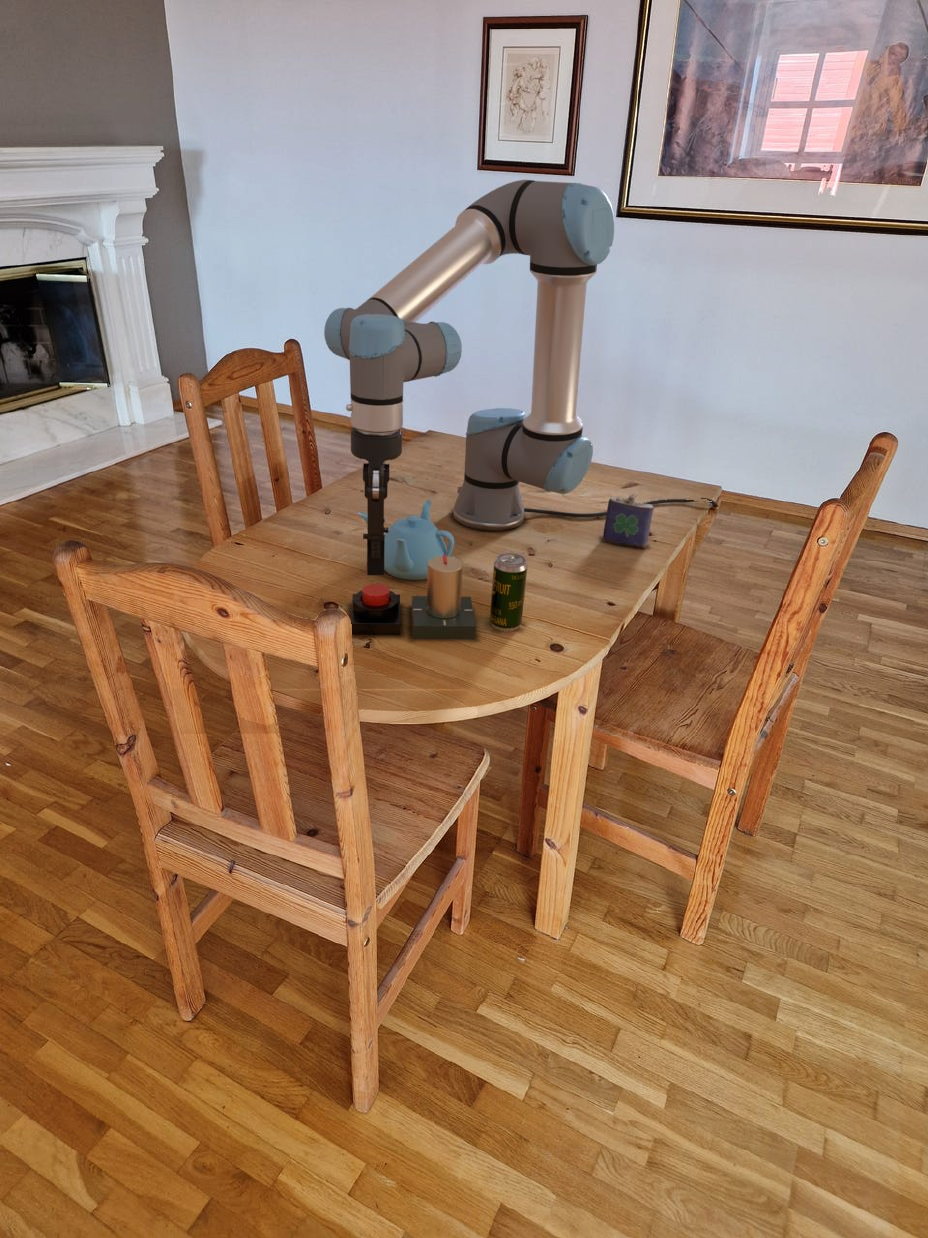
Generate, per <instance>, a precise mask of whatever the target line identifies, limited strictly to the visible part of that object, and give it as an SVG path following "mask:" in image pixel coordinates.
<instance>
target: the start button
mask: <svg viewBox="0 0 928 1238" xmlns="http://www.w3.org/2000/svg"><path fill="white" fill-rule="evenodd" d="M361 591H362V601H363V603H364V604H366V605H370V606H382V605H386V604H388V603H389V596H390V591H391V589H390V588H389V586H387V585H386V584H382V583H369V584H366V585H365V586H363V587H362V589H361Z"/></svg>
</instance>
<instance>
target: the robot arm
mask: <svg viewBox="0 0 928 1238" xmlns="http://www.w3.org/2000/svg"><path fill="white" fill-rule="evenodd" d="M611 203H612V202H611V201H610V200H609V198H608V196H607V194H606V193H605V192H604V191H603V189H601V188H599V187H598V186H593V185H588V184H583V183H580V182H565V181H564V182H562V181H543V180H532V179H519V180H515V181H511V182H507V183H506V184H502V185H501V186H499V187H497V188H495V189H493V190H491V191H489V192H487V193H486V194H484V195H483V196H481V197H479V198H478V199H477V200H475V201H474V202H472V203H471V204H470V205H468V207H466V208H465V209H464V210H462V212H460V213H459V214H458V216H457V217H456V220H455V224H454V226H453V227H452V228H451V229H450V230H448V231H447V232H446V233H445V234H444V235H443V236H442V237H440V238H439V239H438V240H436V241H435V242H434V243H433V244H432V245H430V246H429V247H428V248H427V249H426V250H425V251H423V252H421V254H420V255H418V256H417V257H416V258H415V259H414V260H413V261H412V262H410V264H408V265H407V266H406V267H404V268H403V269H402V270H401V271H399V272H398V273H397V274H396V275H395V276H394V277H393V278H392V279H390V280H389V281H388V282H387V283H386V284H385V285H383V286H382V287H381V288H380V289H378V290H377V291H376V292H375V293H373V294H372V296H370V297H369V298H368V299H366V301H364V302H363V303H361V305H359V306H358V307H356V308H353V307H338V308H337V309H334V310H333V311H331V313H330V314H329V315H328V317H327V319H326V321H325V324H324V328H323V329H324V331H323V334H324V341H325V344H326V346H327V347H328V349H329V351H330V352H331V353H332V354H334V355H336V356H337V357H340V358H343V359H346V360H348V361H349V384H350V385H349V386H350V392H349V393H350V404H346V406H345V410H346V411H347V412H351V413H350V425H351V426H352V429H351V430H350V452H351V454H352V455H353V456H354V458H357V459H360V460H365V461H366V462H363V463H362V465H363V466H362V481H363V482H364V498H366V499H367V501H366V503H367V507H366V508H367V514H368V526H366V527H367V529H366V530H367V533H362V539H363V540H366V576H385V570H384V547H385V534H386V533H388V531H389V528H390V526H389V527H385V523H386V520H385V500H386V499H387V498H388V488H389V487H388V484H389V482H390V463H386V461H392V460H395V459H398V458H399V457H400V456H401V455H402V453H403V431H402V430H401V429H402V427H403V425H404V383H409V382H412V381H417V380H422V379H427V378H432V377H440V376H441V375H443V374H446V373H450V372H451V371H453V370H455V368H457V366H458V365H459V363H460V361H461V359H462V352H463V350H462V348H463V346H462V341H461V337H460V335H459V333H458V331H457V330H456V328H454V326H452V325H451V324H449V323H447V322H445V321H444V322H443V321H438V322H436V321H429V322H427V323H420V322H419V321H420V320H421V319H422V318H424V316H425V315H427V314H428V313H429V312H430V311H431V310H432V309H434V307H436V306H437V305H438V304H439V303H440V302H441V301H443V299H445V298H446V297H447V296H448V295H449V294H450V293H451V292H452V291H454V290H455V289H456V288H457V287H458V286H459V285H460V284H461V283H463V282H464V281H465V280H466V279H467V278H469V276H471V275H472V274H473V273H474V272H475V271H476V270H478V268H480V267H481V266H482V265H491V264H493V263H494V262H495V261H497V260H498V259H499V258H500V257H501V256H506V255H512V254H514V255H517V254H518V255H524V256H528V257H529V272H530V273H531V274H532V276H533V277H534V278H535V279H536V281H537V288H536V309H535V328H534V347H533V367H532V368H533V369H532V384H531V385H532V388H531V405H530V413H529V414H528V415H526V412H524V410H521V409H518V408H507V407H498V408H496V407H495V408H486V409H482V410H477V411H475V412H473V413H472V414H471V415H469V417H468V420H467V427H466V432H465V452H464V453H465V455H464V456H465V457H464V459H465V460H464V474H463V475H464V476H463V483H462V485H461V486H457V494H458V495H457V497H456V500H455V503H454V506H453V518H454V519H455V520H456V522H457V523H459V524H461V525H463V526H465V527H467V528H470V529H474V530H480V531H488V532H499V531H508V530H512V529H515V528H518V527H519V526H521V525H522V524H523V523H524V521H525V513H534V514H543V515H544V514H545V515H552V516H561V517H568V518H569V517H571V518H595V517H596V518H599V517H606V515H607V511H601V512H592V513H591V512H589V513H588V512H587V513H580V512H579V513H577V512H565V511H557V510H550V509H549V510H547V509H539V508H531V507H530V508H529V507H524V502H523V499H522V494H521V490H520V483H522V484H525V485H529V486H532V487H535V488H538V489H541V490H544V491H545V492H547V493H549V492H550V493H551V492H552V493H555V494H559V495H565V494H569V493H571V492H573V491H574V490H575V489H576V488H577V487H579V485H580V484H581V482H582V481H583V480H584V478H585V476H587V473H588V471H589V469H590V466H591V463H592V460H593V456H594V455H593V454H594V446H593V444H592V440H590V439H589V438H587V437H586V436H583V429H584V422H583V420H582V419H581V418H580V417H579V416H578V415H577V406H578V393H579V383H580V372H581V371H580V370H581V361H582V360H581V359H582V348H583V347H582V345H583V335H584V334H583V333H584V332H583V331H584V323H585V311H586V310H585V309H586V298H587V287H588V286H587V285H588V282H589V281H590V280H591V279H592V278H593V277H594V276H595V275H596V274H597V272H598V271H597V270H598V265H599V264H602V263H603V262H604V261H605V260H606V259H607V257H608V256H609V254H610V253H611V249H610V248H611V247H612V246H613V243H614V237H615V216H614V210H613V207H612V204H611ZM700 498H701V499H707V500H709V501H712V502H708V503H709V504H712V506H713V507H715V508H719V507H720V506H719V504H718V503H717V502H716V501H715V500H713V499H711V498H707V497H700ZM665 499H667V500H665ZM665 499H664V498H663V499H654V500H648V501H644V502H643V503H644V504H651V505H652V506H653V505H658V504H668V503H694V502H695V503H696V502H697V501H694V500H686V499H687V498H665ZM655 500H657V501H655ZM649 501H650V502H649ZM645 502H646V503H645ZM704 502H705V503H706V501H704Z"/></svg>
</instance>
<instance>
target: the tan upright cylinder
mask: <svg viewBox="0 0 928 1238" xmlns="http://www.w3.org/2000/svg"><path fill="white" fill-rule="evenodd" d="M463 571H464V563H463V562H462V561H461V560H460V559H458V558H456V557H455V558H453V557H448V556H447V555H443V556H440V557H435V558H432V559H430V560H429V561H428V574H427V579H426V596H427V600H426V611H427V613H428V614H429V615H431V616H433V617H436V618H444V619H445V618H452V617H455V616H457V615H458V614H459V613H460V606H461V597H462V587H463Z"/></svg>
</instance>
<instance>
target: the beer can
mask: <svg viewBox="0 0 928 1238" xmlns="http://www.w3.org/2000/svg"><path fill="white" fill-rule="evenodd" d="M527 574H528V564H527V558H526V557H525V556H524V555H521V554H519V553H517V552H516V553H514V552H503V553H500V554H498V555H497V556H496V557H495V561H494V563H493V571H492V584H491V593H490V595H491V596H490V609H489V623H490V625H491V627H492V628H494V629H496V630H497V631H500V632H514V631H516V630H518V629H519V628H520V626H521V625H522V622H523V615H524V605H525V604H524V603H525V594H526V585H527Z"/></svg>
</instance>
